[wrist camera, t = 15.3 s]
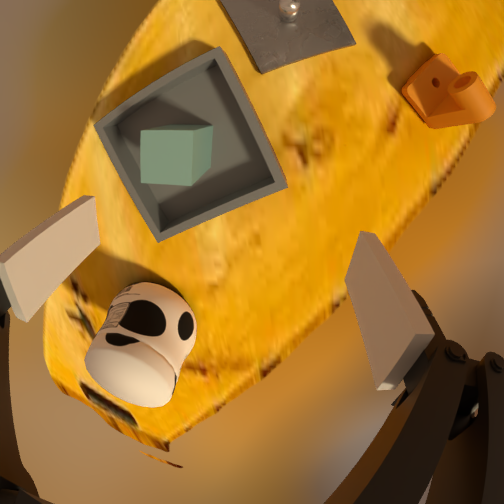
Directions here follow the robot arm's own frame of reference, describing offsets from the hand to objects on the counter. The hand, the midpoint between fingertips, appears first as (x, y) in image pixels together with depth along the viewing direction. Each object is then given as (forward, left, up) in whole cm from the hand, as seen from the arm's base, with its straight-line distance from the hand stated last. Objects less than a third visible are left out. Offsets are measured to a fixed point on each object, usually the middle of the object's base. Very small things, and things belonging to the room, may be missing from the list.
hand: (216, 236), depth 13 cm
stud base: (-13, -17, -28) cm, 35 cm away
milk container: (+29, +19, -28) cm, 45 cm away
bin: (+7, -5, -28) cm, 29 cm away
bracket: (-30, -1, -28) cm, 41 cm away
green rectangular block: (+7, -5, -27) cm, 28 cm away
